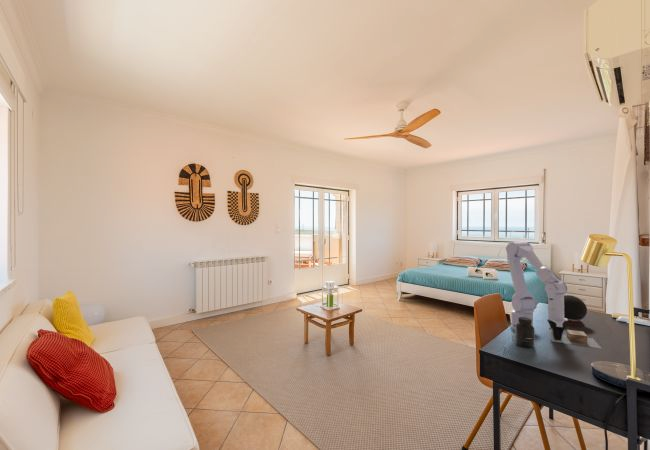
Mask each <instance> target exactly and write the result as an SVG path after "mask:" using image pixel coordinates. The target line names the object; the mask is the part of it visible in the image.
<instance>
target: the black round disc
mask: <svg viewBox="0 0 650 450" xmlns="http://www.w3.org/2000/svg"><path fill="white" fill-rule="evenodd" d="M587 314H588V308H587V304H586V303H585V302H584V301H583V300H582V299H581V298H579V297H577V296H574V295H571V294H569V295H565V294H564V318H567V319H568V321H564V322H563V325H565V326H566V327H568V326H569V327H570V328H574V327H583V328H585V326H586V324H585V323H584V322H583V321H581V320H583V319H584V318H585V317H586V316H587ZM569 327H568V328H569Z"/></svg>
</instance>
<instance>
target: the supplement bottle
mask: <svg viewBox="0 0 650 450" xmlns="http://www.w3.org/2000/svg"><path fill="white" fill-rule="evenodd" d="M518 322H519V323H517V324H516V330H515V345H516V346H517V347H519V348H522V349H534V348H535V332H534V330H535V327H534V325H533V326H532V325H531V324H532V320H531V319H530V318H526V317H519V318H518Z"/></svg>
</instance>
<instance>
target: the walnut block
mask: <svg viewBox="0 0 650 450" xmlns="http://www.w3.org/2000/svg"><path fill="white" fill-rule="evenodd" d="M566 335H567V338H568V339H569V341H570V342H576V343H583V344H587V338H588V335H587V334H586V333H585V331H581V330H575V329H574V330H572V329H566Z"/></svg>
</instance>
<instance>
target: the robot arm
mask: <svg viewBox="0 0 650 450" xmlns="http://www.w3.org/2000/svg"><path fill="white" fill-rule="evenodd" d="M505 250H506V260H507V263H508V267H509V272H510V276H511V280H512V285H513V289H514V293H513V295H512V296H511V300H512V301H511V307H512V308H513V310H512V309H511V311H510V326H511V325H512V326H511V329H512V330H514V331H516V324H517V323H519V322H518V318H519V317H526V318H530V319H531V320H532V324H531V325H532V326H533V327H534V312H535V310H536V309H537V307H538V304H537V302H536V300H535V297H534V295H533V294H532V293H530V291H528V287H527V283H526V279H525V276H524V271H523V268H522V263H521V261H522V259H523V258H525V259H526V260H527V261H528V263H529V264H530V265H532V267H533V268H534V269H535V270H536V271H535V274H536V276H537V277H538V278H539V280H540V281H541V282H542V284H544V288H543V289H544V291H545V293H546V296H547V306H548V307H547V311H548V312H547V313H548V314H547V319H546V320H547V323H548V325H549V328H552V330H553V335H554V339H555V340H561V338H562V335H564V334H563V333H564V331H565V330H566V329H567V326H565V325H563V322H564V321H568V319H567V318H564V296H565V294H566V293H567V291H568V286H567V284H566V282H564V281H563V280H560V279H558V278H557V276H556V275H555V274H554V273H553V271H552V269H551V268H549V267H547V266H544V265H543V263H542V262H541V260H540V259H539V257H538V256H537V255H536V253H535V252H534V247H533V245H531V243H530V242H529V241H510V242H509V243H508V244H507V245H506V246H505ZM534 333H536V331H535V329H534Z"/></svg>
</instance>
